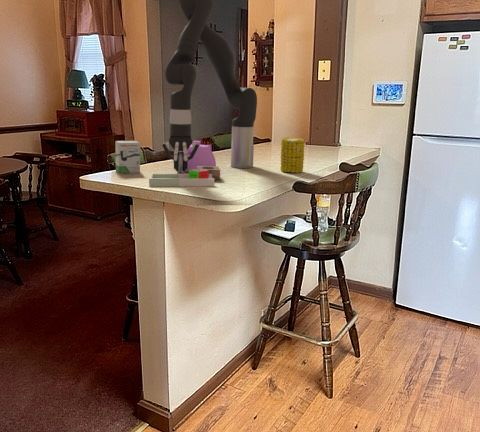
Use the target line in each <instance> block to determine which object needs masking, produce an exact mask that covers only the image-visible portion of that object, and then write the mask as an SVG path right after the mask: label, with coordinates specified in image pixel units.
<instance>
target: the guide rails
mask: <svg viewBox="0 0 480 432" xmlns="http://www.w3.org/2000/svg"><path fill="white" fill-rule="evenodd" d="M178 178H179V186H178V187H215V181H214V178H212V174H209V178H189V173H184V174H178Z"/></svg>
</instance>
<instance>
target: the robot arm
mask: <svg viewBox="0 0 480 432" xmlns="http://www.w3.org/2000/svg"><path fill="white" fill-rule="evenodd" d="M179 6H180V9H181V11H182V12H183V13H182V14H184V16H185V18H186V20H187V21H188V23H187V25H185V26H184V28H183V30H182V31H181V33H180V35H179V36H178V40H177V45H176V49H175V52H174V54H173V55H172V57H171V59H170V60H168V61H169V62H168V63H167V65H166V68H165V71H164V77H165V80H166V82H167V83H168V84H170V85H173V86H174V85H177V86H178V85H181V86H182V89H181V90H179V91H174V92H172V93H171V94H170V112H169V113H170V114H169V138H168V141H166V142H163V143H162V144H161V146H162V148H163V151H164V152H165V153H166V155H167V158H168V159H169V160H173V169H174V170H175V172H177V171H178V161H177V156H178V151H183V152H184V171H186V170H187V168H188V160H190V159H192V158H193V156H194V155H195V153H196V151H197V149H198V147H199V145H198V144H196V143H194V142H193V141H194V140H193V139H192V121H193V120H192V113H191V112H192V110H191V106H192V105H191V103H192V102H191V101H192V94H193V89H194V85H195V81H196V80H197V79H196V78H197V72H196V71H197V70H196V69H195V66H194V65H193V64H192V63H194V61H195V59H196V55H197V51H198V47H199V42H200V43H201V44H202V47H203V48H204V51H205V53H206V55H207V58H208V60H209V62H210V63H211V65H212V67H213V68H214V70H215V73H216V74H217V77H218V79H219V81H220V83H221V85H222V87H223V91H224V93H225V96H226V97H227V101H228V103H229V105H230V106H231V108H232V109H235V110H237V111H239V112H238V116H236V117H235V118H233V119H232V121H231V147H230V150H231V153H230V155H231V156H230V167H232V168H236V169H237V168H238V169H239V168H240V169H249V168H250V169H251V168H254V155H255V154H254V153H255V152H254V151H255V145H254V127H255V126H254V124H255V121H256V119H257V108H258V96H257V93H256V90H255V89H253V88H252V87H241V86H240V83H239V82H238V81H237V78H236V75H235V57H234V53H233V51H232V49H231V47H230V45H229V43H228V41H227V40H226V39H225V38H224V37H223V36H222V35H221V34H220V33H218V32H217V31H215V30H214V29H213V28H212V27H211V26H209V24H208V23H207V22H208V19H209V17H210V15H211V12H212V10H213V6H214V0H179ZM191 145H192V148H193V150H192V152H191V153H190V155H189V156H187V150H188V148H189V147H190V146H191ZM170 146H171V148H172V150H173V151H174V152H173V155H172V154H171V151H170Z"/></svg>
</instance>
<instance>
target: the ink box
mask: <svg viewBox="0 0 480 432" xmlns="http://www.w3.org/2000/svg"><path fill="white" fill-rule="evenodd" d="M140 150H141V143H140V142H139V141H137V140H115V172H116V173H117V174H131V173H132V174H133V173H134V174H135V173H141V151H140Z"/></svg>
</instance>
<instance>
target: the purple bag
mask: <svg viewBox="0 0 480 432" xmlns="http://www.w3.org/2000/svg"><path fill="white" fill-rule="evenodd" d="M192 141H193V142H194V143H196V144H198V145H199V147H198V149H197V151H196V153H195V155H194V156H193V158H192V159H190V160H188V168H187V170H186V171H184V173H189V170H192V169H197V166H217V162H216V157H215V155H214V153H213V151H212V144H201V143H202V141H201V140H192ZM192 150H193V148H192V144H191V146H190V147H189V148H188V150H187V156H189V155H190V153H191V152H192Z"/></svg>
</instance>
